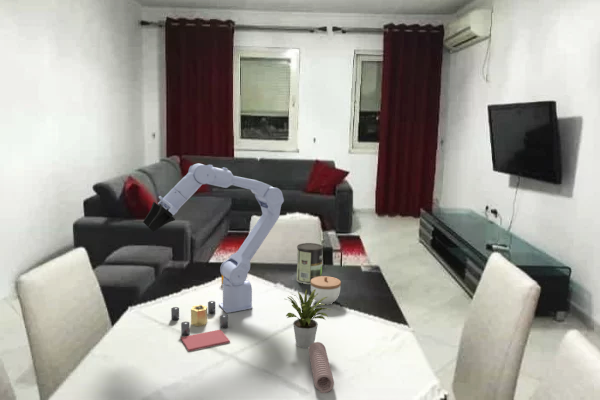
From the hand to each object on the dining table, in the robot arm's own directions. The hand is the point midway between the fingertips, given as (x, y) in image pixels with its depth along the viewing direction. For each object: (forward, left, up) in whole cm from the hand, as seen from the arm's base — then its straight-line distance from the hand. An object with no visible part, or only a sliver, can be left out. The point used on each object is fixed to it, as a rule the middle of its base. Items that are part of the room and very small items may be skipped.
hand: (148, 226), depth 143 cm
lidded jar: (-59, +8, -31) cm, 67 cm away
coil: (-33, +48, -31) cm, 66 cm away
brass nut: (-13, +6, -31) cm, 34 cm away
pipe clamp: (-36, -29, -31) cm, 55 cm away
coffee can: (-65, -14, -31) cm, 73 cm away
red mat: (-12, +19, -31) cm, 38 cm away
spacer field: (-13, +6, -31) cm, 34 cm away
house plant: (-36, +33, -31) cm, 58 cm away
